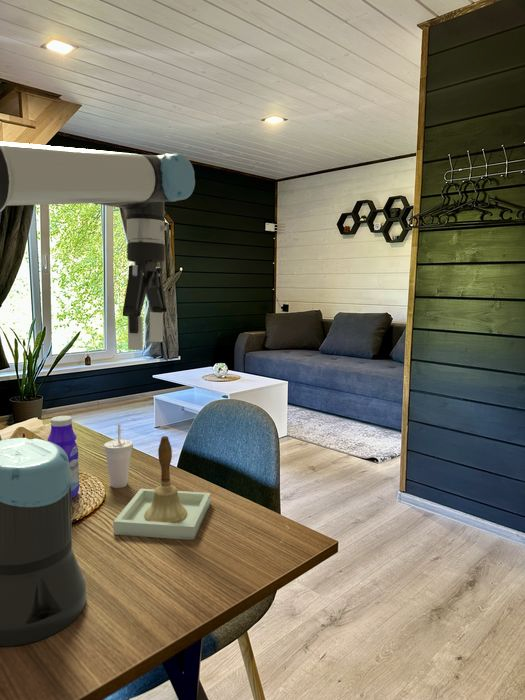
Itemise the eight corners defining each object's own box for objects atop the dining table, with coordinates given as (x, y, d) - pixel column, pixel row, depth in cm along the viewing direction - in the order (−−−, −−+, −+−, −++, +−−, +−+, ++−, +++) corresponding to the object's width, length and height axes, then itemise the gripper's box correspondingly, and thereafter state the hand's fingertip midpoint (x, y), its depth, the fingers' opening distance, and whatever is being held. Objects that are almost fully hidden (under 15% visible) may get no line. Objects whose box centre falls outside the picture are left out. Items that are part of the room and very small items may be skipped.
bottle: (70, 504, 104) (68, 422, 102) (43, 503, 105) (40, 422, 102) (83, 490, 112) (81, 413, 109) (58, 489, 112) (55, 412, 109)
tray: (193, 540, 91) (194, 527, 91) (113, 534, 93) (113, 521, 92) (210, 504, 106) (210, 492, 106) (140, 499, 108) (140, 488, 107)
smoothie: (137, 480, 118) (136, 421, 116) (127, 491, 112) (126, 429, 110) (110, 478, 119) (109, 420, 117) (99, 489, 112) (98, 428, 110)
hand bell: (177, 527, 95) (178, 445, 93) (136, 522, 96) (136, 441, 94) (193, 508, 103) (193, 432, 101) (154, 503, 105) (154, 428, 102)
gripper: (143, 237, 91) (144, 354, 93) (179, 246, 115) (179, 339, 118) (103, 236, 91) (105, 352, 94) (147, 246, 116) (148, 338, 119)
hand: (146, 345), depth 106 cm, fingers open, 13 cm apart
